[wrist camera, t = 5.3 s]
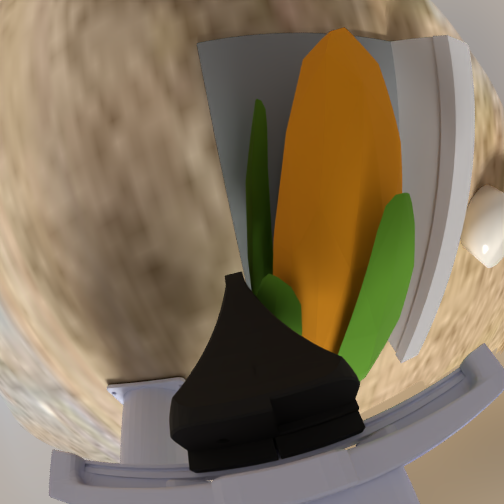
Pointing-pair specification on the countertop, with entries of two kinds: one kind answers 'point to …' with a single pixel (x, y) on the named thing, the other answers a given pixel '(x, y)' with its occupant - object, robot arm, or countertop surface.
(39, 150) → the countertop surface
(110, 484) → the robot arm
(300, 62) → the bracket
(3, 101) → the countertop surface
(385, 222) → the toy fruit
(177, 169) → the countertop surface
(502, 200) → the white glossy round part
